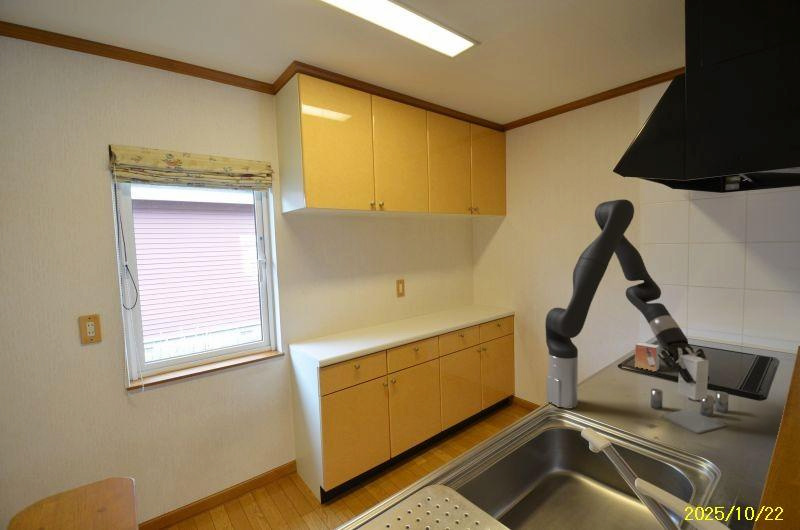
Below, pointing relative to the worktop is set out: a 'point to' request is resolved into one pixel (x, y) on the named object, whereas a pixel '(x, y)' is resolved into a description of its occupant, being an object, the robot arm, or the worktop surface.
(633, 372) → the worktop surface
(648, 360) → the small box
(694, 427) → the slate tile
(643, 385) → the worktop surface
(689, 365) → the skincare box
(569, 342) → the robot arm
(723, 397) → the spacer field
